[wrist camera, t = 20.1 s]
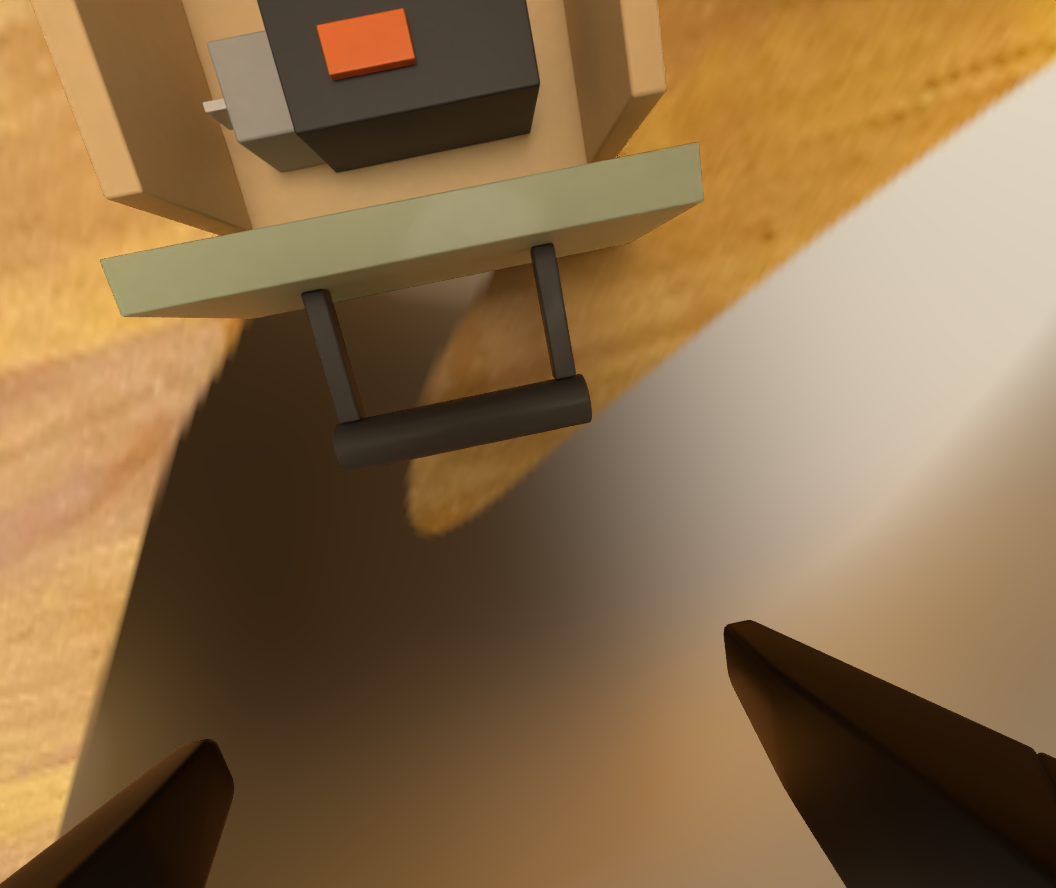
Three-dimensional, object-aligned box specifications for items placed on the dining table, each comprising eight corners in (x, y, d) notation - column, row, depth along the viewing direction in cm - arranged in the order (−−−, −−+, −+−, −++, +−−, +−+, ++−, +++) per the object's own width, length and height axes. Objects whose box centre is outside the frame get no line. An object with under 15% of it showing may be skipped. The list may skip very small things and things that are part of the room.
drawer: (648, 383, 18) (725, 413, 12) (298, 456, 18) (201, 523, 12) (561, -266, 14) (616, -723, 8) (88, -183, 13) (-238, -591, 7)
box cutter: (511, 26, 14) (517, -66, 11) (530, 133, 15) (542, 78, 12) (226, 83, 14) (143, 7, 11) (260, 189, 15) (191, 149, 11)
